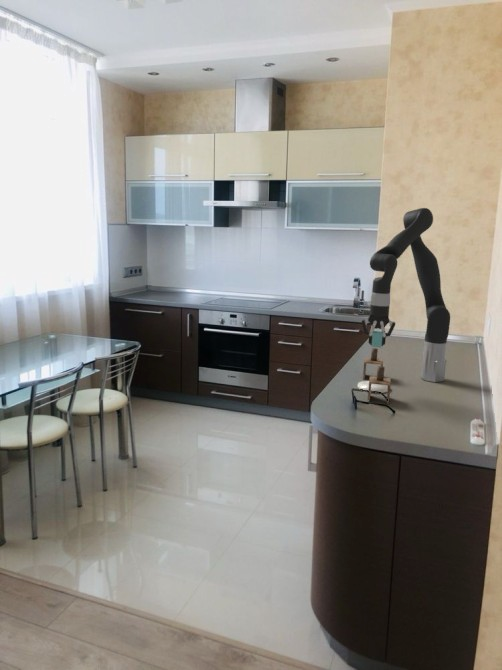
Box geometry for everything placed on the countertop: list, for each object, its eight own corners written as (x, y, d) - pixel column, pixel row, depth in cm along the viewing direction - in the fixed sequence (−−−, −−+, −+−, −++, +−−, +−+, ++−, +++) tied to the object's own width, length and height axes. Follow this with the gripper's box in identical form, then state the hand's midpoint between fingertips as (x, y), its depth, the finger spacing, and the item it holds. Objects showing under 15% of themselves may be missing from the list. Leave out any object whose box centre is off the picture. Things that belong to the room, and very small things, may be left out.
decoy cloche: (388, 397, 219) (391, 365, 216) (388, 404, 212) (391, 370, 209) (368, 395, 221) (370, 363, 218) (367, 401, 213) (370, 368, 211)
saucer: (396, 390, 228) (396, 387, 228) (371, 394, 222) (372, 392, 221) (374, 382, 239) (374, 379, 239) (350, 385, 233) (351, 383, 232)
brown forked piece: (381, 376, 248) (384, 347, 245) (381, 381, 241) (383, 351, 238) (363, 374, 250) (365, 346, 247) (362, 379, 243) (365, 350, 240)
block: (381, 345, 228) (382, 331, 227) (381, 347, 224) (382, 333, 223) (371, 344, 229) (372, 330, 228) (371, 346, 225) (372, 332, 224)
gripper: (398, 303, 225) (394, 344, 228) (362, 301, 228) (359, 341, 232) (398, 306, 218) (394, 348, 221) (361, 303, 221) (358, 345, 225)
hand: (376, 345), depth 227 cm, fingers closed on block, 4 cm apart
